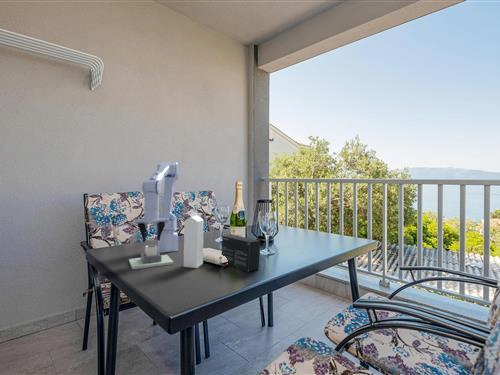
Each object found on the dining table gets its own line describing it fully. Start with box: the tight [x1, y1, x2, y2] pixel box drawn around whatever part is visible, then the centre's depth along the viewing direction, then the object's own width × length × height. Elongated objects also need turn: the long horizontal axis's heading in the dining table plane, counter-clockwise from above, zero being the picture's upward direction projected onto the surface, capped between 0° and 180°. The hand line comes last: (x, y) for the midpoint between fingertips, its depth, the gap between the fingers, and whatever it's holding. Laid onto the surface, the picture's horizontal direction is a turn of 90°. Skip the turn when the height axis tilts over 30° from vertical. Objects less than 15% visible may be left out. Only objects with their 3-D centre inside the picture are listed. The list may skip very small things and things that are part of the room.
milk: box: [183, 211, 205, 269], centre depth 115 cm, size 6×6×22 cm
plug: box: [144, 244, 158, 257], centre depth 118 cm, size 4×4×7 cm
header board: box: [128, 251, 174, 270], centre depth 118 cm, size 16×12×4 cm
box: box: [221, 234, 261, 273], centre depth 116 cm, size 17×7×12 cm, turn 45°
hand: (151, 240), depth 118 cm, fingers open, 5 cm apart
